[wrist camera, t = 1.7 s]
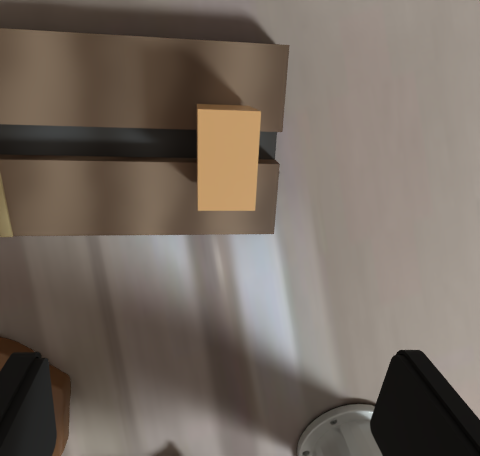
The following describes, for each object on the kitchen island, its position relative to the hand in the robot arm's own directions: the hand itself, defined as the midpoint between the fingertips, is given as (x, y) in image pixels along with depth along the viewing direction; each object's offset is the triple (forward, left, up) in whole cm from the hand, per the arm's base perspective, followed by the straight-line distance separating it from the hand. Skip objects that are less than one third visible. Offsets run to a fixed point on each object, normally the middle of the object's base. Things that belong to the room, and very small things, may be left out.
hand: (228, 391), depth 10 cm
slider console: (+7, -3, -23) cm, 24 cm away
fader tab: (-1, -3, -21) cm, 22 cm away
